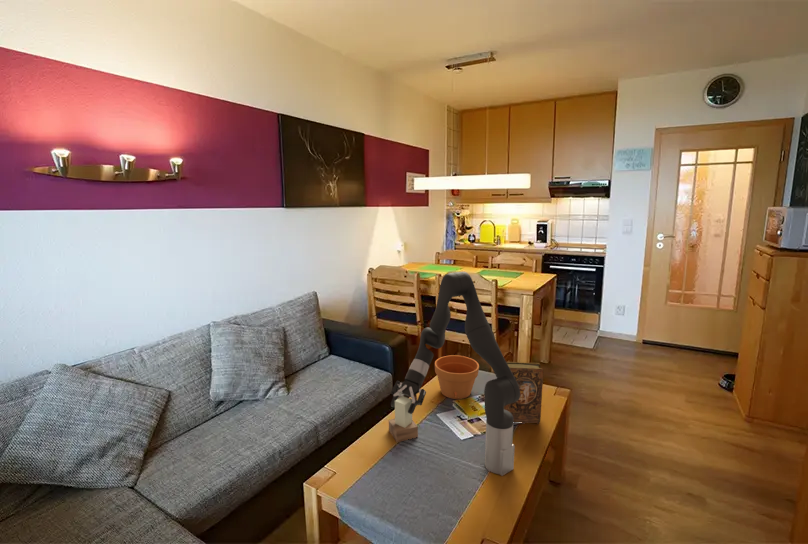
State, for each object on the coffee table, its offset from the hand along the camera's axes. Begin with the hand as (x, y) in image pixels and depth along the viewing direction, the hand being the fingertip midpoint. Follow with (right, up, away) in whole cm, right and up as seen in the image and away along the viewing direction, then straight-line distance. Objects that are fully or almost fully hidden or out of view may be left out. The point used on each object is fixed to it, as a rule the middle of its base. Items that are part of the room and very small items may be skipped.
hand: (400, 409), depth 163 cm
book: (+50, -9, +13) cm, 53 cm away
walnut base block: (+1, -11, +3) cm, 12 cm away
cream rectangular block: (+1, -6, +2) cm, 7 cm away
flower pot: (+27, -4, +37) cm, 46 cm away
